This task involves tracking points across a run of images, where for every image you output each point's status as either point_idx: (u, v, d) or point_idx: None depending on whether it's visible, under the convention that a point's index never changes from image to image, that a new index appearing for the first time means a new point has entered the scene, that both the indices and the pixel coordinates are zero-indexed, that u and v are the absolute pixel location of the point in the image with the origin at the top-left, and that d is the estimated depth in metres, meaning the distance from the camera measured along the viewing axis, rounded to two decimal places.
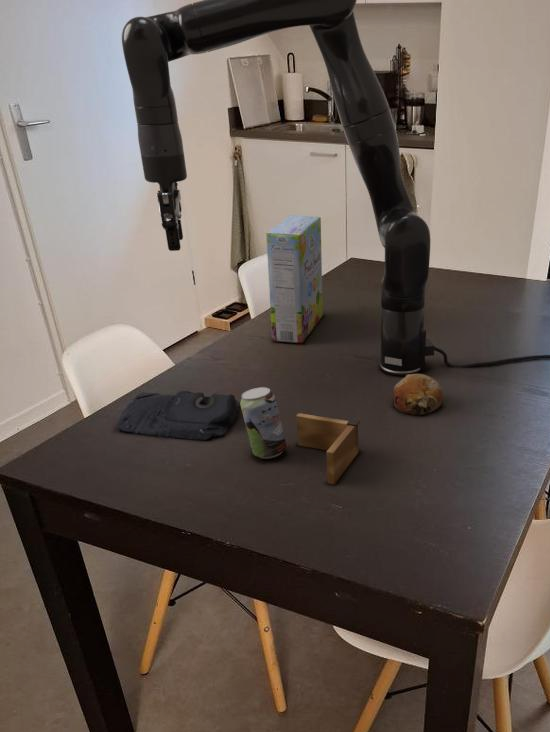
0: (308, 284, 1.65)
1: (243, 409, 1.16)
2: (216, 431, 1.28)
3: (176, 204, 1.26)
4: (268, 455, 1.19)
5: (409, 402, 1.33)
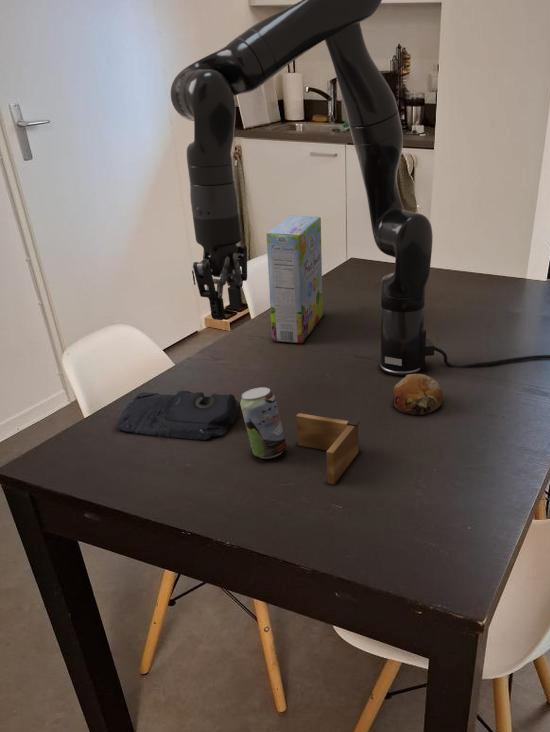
0: (308, 284, 1.65)
1: (243, 409, 1.16)
2: (216, 431, 1.28)
3: (221, 271, 1.14)
4: (268, 455, 1.19)
5: (409, 402, 1.33)
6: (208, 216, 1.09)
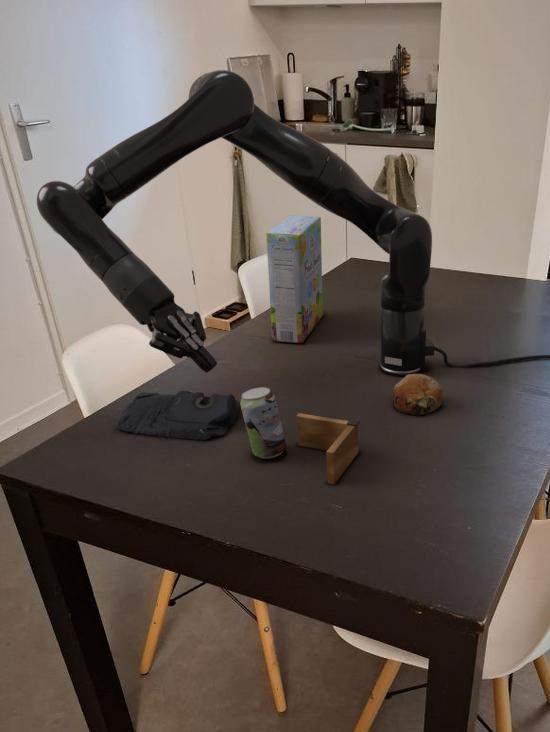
0: (308, 284, 1.65)
1: (243, 409, 1.16)
2: (216, 431, 1.28)
3: (176, 330, 1.13)
4: (268, 455, 1.19)
5: (409, 402, 1.33)
6: (126, 292, 1.11)
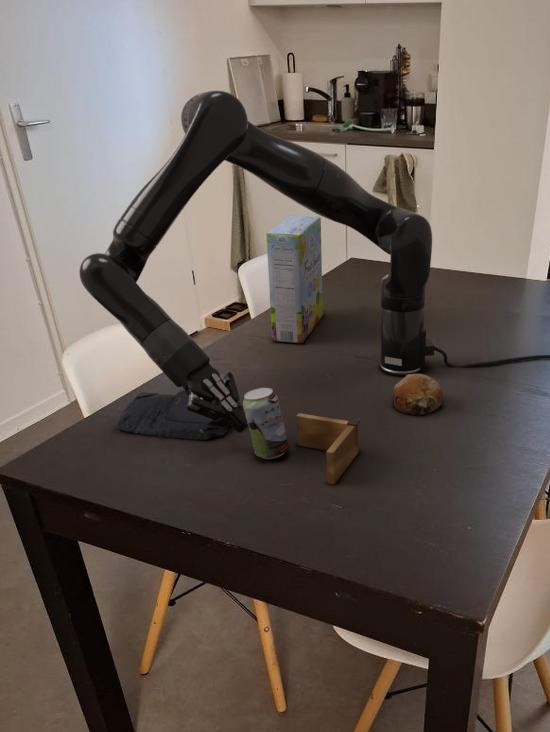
0: (308, 284, 1.65)
1: (246, 410, 1.16)
2: (216, 431, 1.28)
3: (212, 393, 1.18)
4: (271, 455, 1.19)
5: (409, 402, 1.33)
6: (165, 357, 1.15)
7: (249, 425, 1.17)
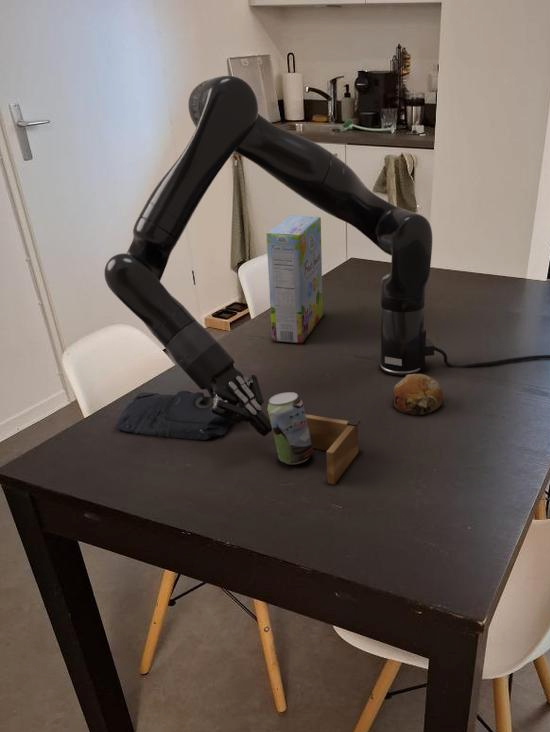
0: (308, 284, 1.65)
1: (270, 414, 1.14)
2: (216, 431, 1.28)
3: (236, 396, 1.16)
4: (295, 461, 1.17)
5: (409, 402, 1.33)
6: (190, 359, 1.13)
7: (273, 430, 1.16)
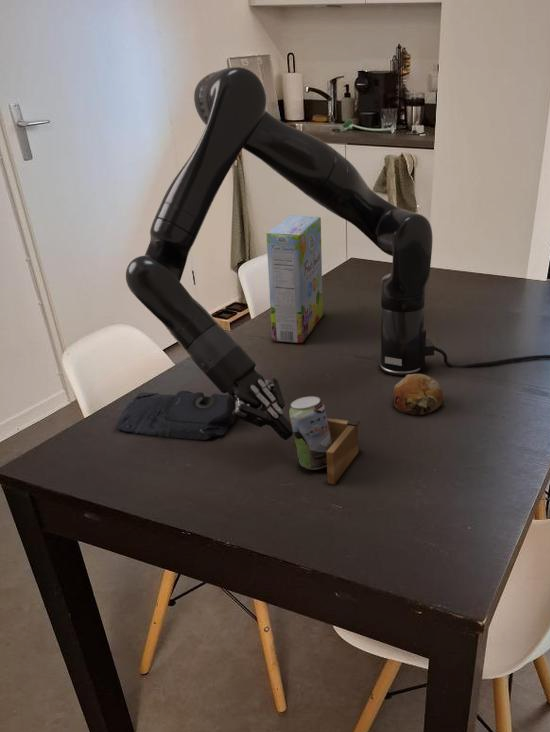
0: (308, 284, 1.65)
1: (291, 418, 1.13)
2: (216, 431, 1.28)
3: (258, 400, 1.15)
4: (315, 466, 1.16)
5: (409, 402, 1.33)
6: (211, 363, 1.12)
7: (294, 434, 1.14)
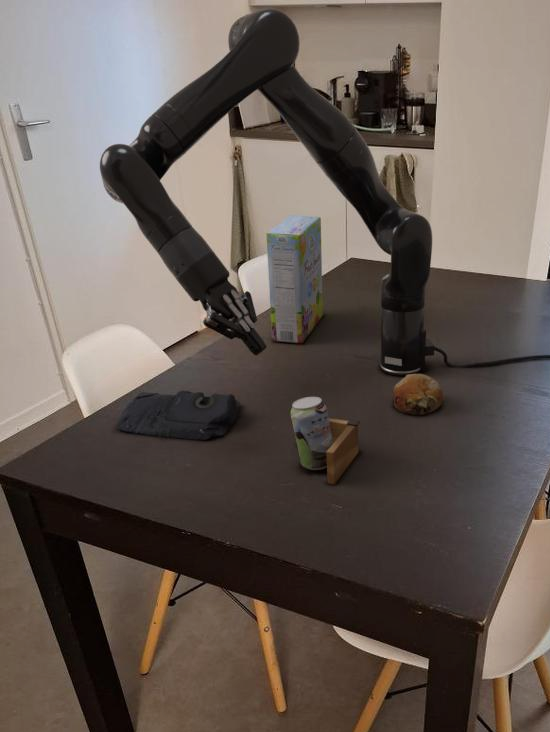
0: (308, 284, 1.65)
1: (293, 418, 1.13)
2: (216, 431, 1.28)
3: (230, 310, 1.12)
4: (316, 467, 1.15)
5: (409, 402, 1.33)
6: (184, 267, 1.08)
7: (295, 434, 1.14)
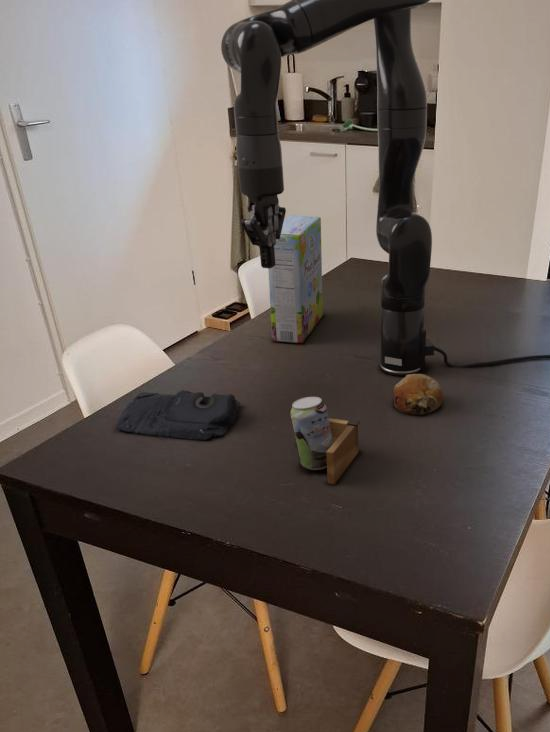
0: (308, 284, 1.65)
1: (293, 418, 1.13)
2: (216, 431, 1.28)
3: (267, 223, 1.20)
4: (316, 467, 1.15)
5: (409, 402, 1.33)
6: (254, 166, 1.14)
7: (295, 434, 1.14)
